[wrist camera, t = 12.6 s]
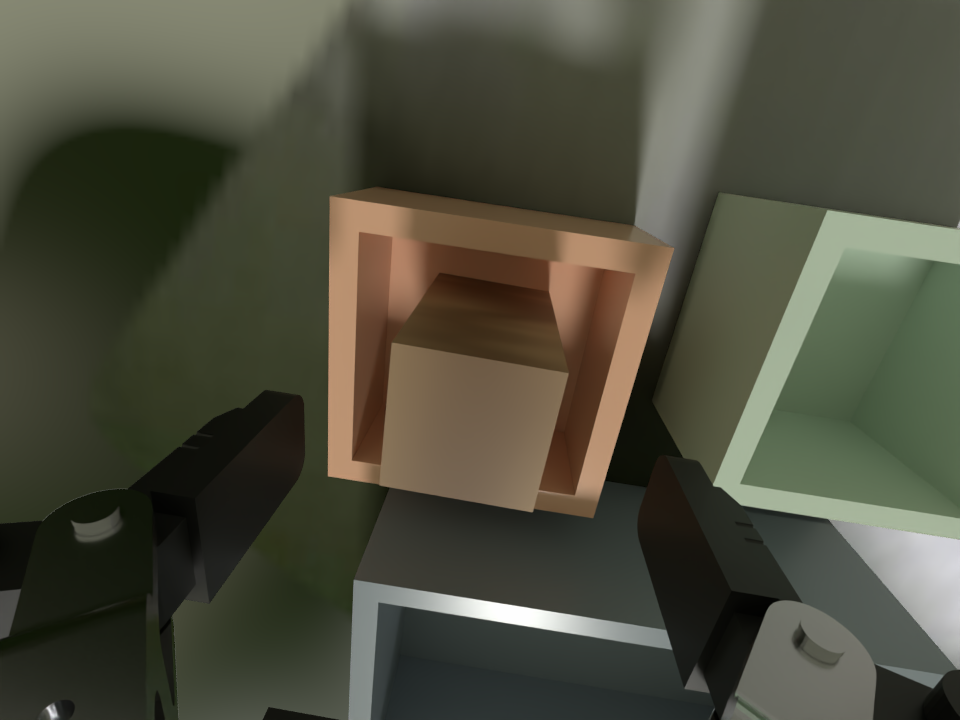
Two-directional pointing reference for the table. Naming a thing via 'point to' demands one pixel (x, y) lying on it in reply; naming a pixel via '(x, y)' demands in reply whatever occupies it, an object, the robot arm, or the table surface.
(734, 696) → the robot arm
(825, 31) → the table surface
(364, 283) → the peach square tray
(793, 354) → the pale green open box
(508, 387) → the walnut block
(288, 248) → the table surface
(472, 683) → the slate bin
